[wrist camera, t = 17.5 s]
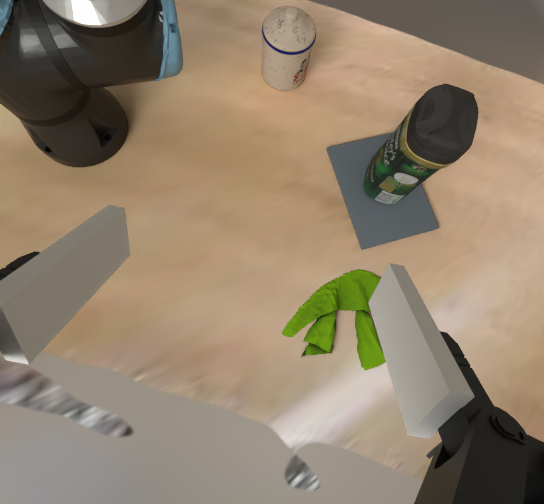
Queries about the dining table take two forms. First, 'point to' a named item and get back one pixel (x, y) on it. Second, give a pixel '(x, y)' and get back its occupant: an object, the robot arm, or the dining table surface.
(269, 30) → the teacup with lid
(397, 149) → the coffee jar
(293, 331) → the cloth
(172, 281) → the dining table surface
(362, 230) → the mat
